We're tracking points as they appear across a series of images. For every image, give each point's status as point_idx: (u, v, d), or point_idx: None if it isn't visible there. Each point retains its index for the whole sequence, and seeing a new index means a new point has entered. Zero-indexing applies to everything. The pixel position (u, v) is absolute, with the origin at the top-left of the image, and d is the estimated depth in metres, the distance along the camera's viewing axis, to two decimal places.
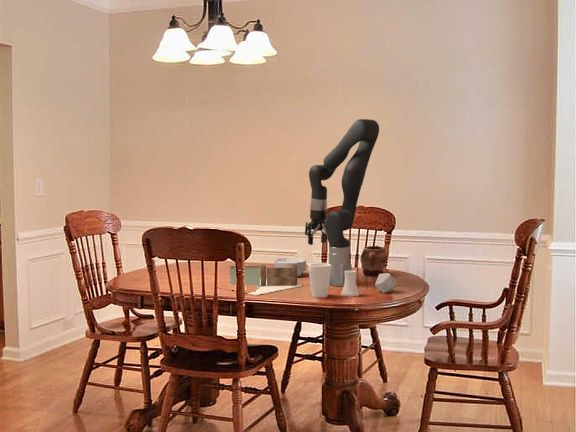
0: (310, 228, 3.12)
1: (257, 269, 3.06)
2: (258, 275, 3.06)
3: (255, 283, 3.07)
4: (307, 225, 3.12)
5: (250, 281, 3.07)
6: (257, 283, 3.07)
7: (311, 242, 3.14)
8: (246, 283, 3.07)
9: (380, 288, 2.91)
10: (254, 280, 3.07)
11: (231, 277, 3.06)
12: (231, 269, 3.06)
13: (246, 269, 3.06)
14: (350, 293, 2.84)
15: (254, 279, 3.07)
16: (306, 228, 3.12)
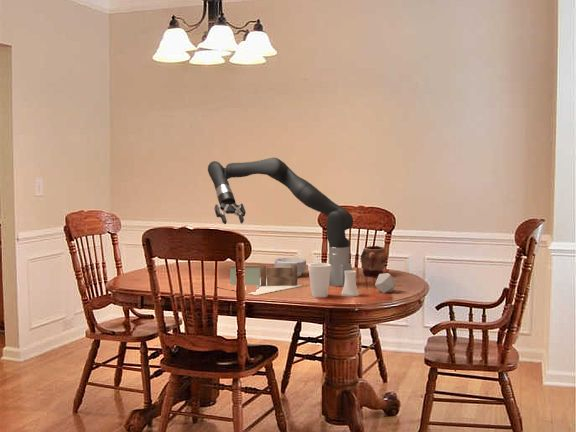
0: (218, 208, 3.21)
1: (257, 269, 3.06)
2: (258, 275, 3.06)
3: (255, 283, 3.07)
4: (215, 208, 3.22)
5: (250, 281, 3.07)
6: (257, 283, 3.07)
7: (224, 219, 3.18)
8: (246, 283, 3.07)
9: (380, 288, 2.91)
10: (254, 280, 3.07)
11: (231, 277, 3.06)
12: (231, 269, 3.06)
13: (246, 269, 3.06)
14: (350, 293, 2.84)
15: (254, 279, 3.07)
16: (215, 211, 3.22)
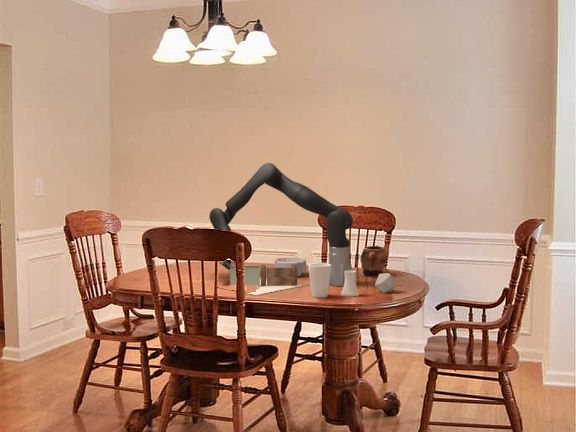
0: (225, 261, 3.10)
1: (257, 269, 3.06)
2: (258, 275, 3.06)
3: (255, 283, 3.07)
4: (221, 262, 3.10)
5: (250, 281, 3.06)
6: (257, 283, 3.07)
7: None
8: (246, 283, 3.06)
9: (380, 288, 2.91)
10: (254, 280, 3.06)
11: (231, 277, 3.06)
12: (231, 269, 3.06)
13: (246, 269, 3.06)
14: (350, 293, 2.84)
15: (254, 280, 3.06)
16: (224, 265, 3.10)
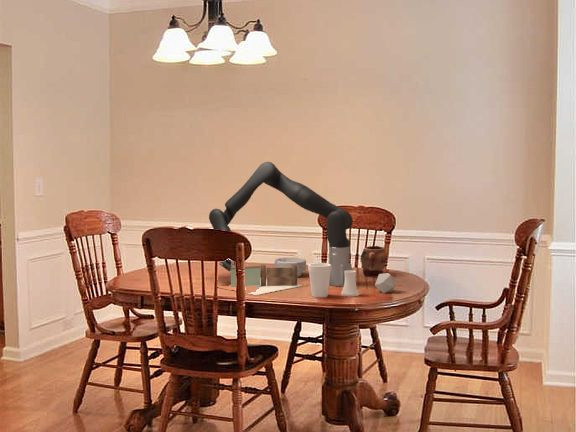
0: (225, 263, 3.06)
1: (258, 269, 3.05)
2: (258, 275, 3.06)
3: (256, 283, 3.06)
4: (221, 264, 3.07)
5: (251, 282, 3.05)
6: (257, 284, 3.06)
7: None
8: (247, 284, 3.05)
9: (380, 288, 2.91)
10: (255, 280, 3.05)
11: (232, 279, 3.02)
12: (232, 271, 3.02)
13: (247, 270, 3.04)
14: (350, 293, 2.84)
15: (255, 280, 3.05)
16: (224, 266, 3.07)
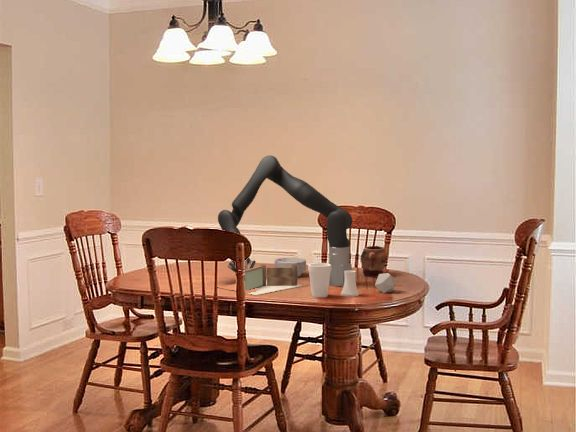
0: (234, 265, 3.00)
1: (261, 270, 3.04)
2: (261, 275, 3.05)
3: (260, 284, 3.04)
4: (230, 266, 3.00)
5: (257, 283, 3.02)
6: (261, 284, 3.05)
7: None
8: (255, 286, 3.00)
9: (380, 288, 2.91)
10: (259, 281, 3.03)
11: (247, 282, 2.94)
12: (247, 274, 2.94)
13: (255, 271, 3.00)
14: (350, 293, 2.84)
15: (260, 281, 3.04)
16: (232, 269, 3.00)
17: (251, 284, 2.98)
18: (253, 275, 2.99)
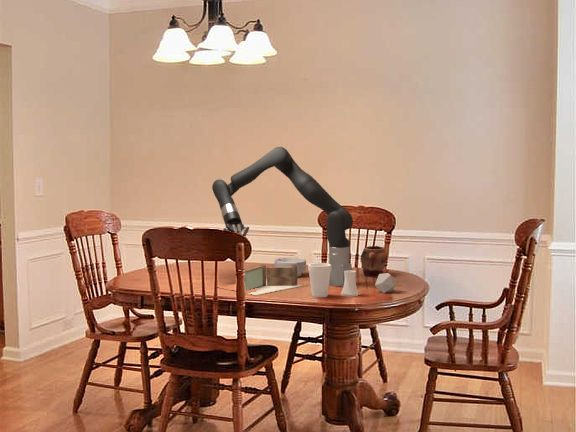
0: None
1: (261, 270, 3.04)
2: (261, 275, 3.05)
3: (260, 284, 3.04)
4: None
5: (257, 283, 3.02)
6: (261, 284, 3.05)
7: None
8: (255, 286, 3.00)
9: (380, 288, 2.91)
10: (259, 281, 3.03)
11: (247, 282, 2.94)
12: (247, 274, 2.94)
13: (255, 271, 3.00)
14: (350, 293, 2.84)
15: (260, 281, 3.04)
16: None
17: (251, 284, 2.98)
18: (253, 275, 2.99)
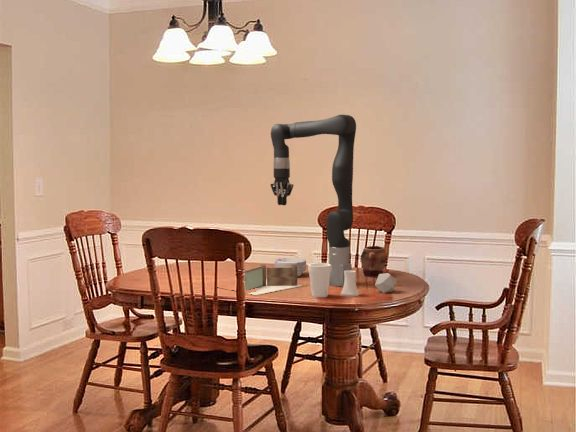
0: (273, 188, 3.23)
1: (261, 270, 3.04)
2: (261, 275, 3.05)
3: (260, 284, 3.04)
4: None
5: (257, 283, 3.02)
6: (261, 284, 3.05)
7: (278, 202, 3.22)
8: (255, 286, 3.00)
9: (380, 288, 2.91)
10: (259, 281, 3.03)
11: (247, 282, 2.94)
12: (247, 274, 2.94)
13: (255, 271, 3.00)
14: (350, 293, 2.84)
15: (260, 281, 3.04)
16: None
17: (251, 284, 2.98)
18: (253, 275, 2.99)
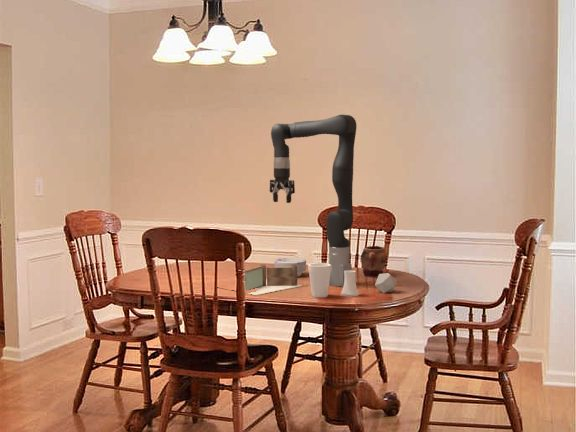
0: (271, 185, 3.24)
1: (261, 270, 3.04)
2: (261, 275, 3.05)
3: (260, 284, 3.04)
4: None
5: (257, 283, 3.02)
6: (261, 284, 3.05)
7: (273, 199, 3.24)
8: (255, 286, 3.00)
9: (380, 288, 2.91)
10: (259, 281, 3.03)
11: (247, 282, 2.94)
12: (247, 274, 2.94)
13: (255, 271, 3.00)
14: (350, 293, 2.84)
15: (260, 281, 3.04)
16: None
17: (251, 284, 2.98)
18: (253, 275, 2.99)
